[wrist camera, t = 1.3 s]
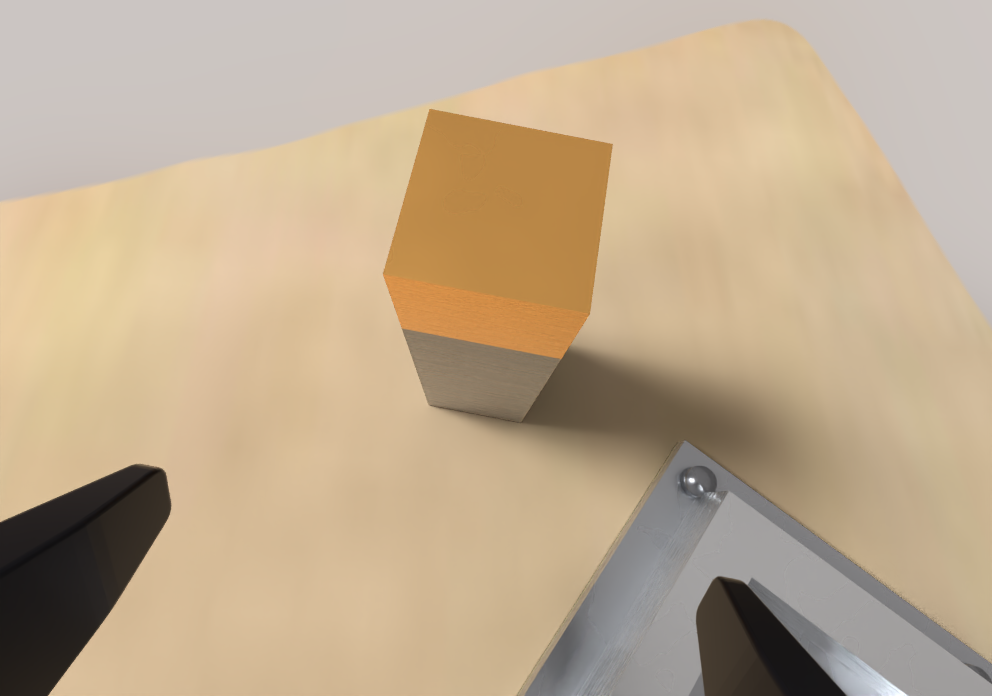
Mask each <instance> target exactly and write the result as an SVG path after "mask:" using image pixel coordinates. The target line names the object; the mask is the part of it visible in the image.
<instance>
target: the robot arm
mask: <svg viewBox="0 0 992 696" xmlns="http://www.w3.org/2000/svg"><path fill="white" fill-rule="evenodd" d="M170 511H171V499H170V493H169V488H168V482H167V476H166V473H165V471H164V470H163V469H162V468H159V467H154V466H149V465H144V464H134V465H131V466H128V467H126V468H124V469H122V470H119V471H117V472H115V473H112V474H110V475H108V476H105V477H103V478H101V479H98V480H96V481H94V482H92V483H89V484H87V485H85V486H82V487H80V488H78V489H75V490H73V491H71V492H68V493H66V494H64V495H62V496H59V497H57V498H55V499H52V500H50V501H48V502H45V503H43V504H41V505H38V506H36V507H34V508H32V509H29V510H27V511H25V512H22V513H20V514H18V515H15V516H13V517H11V518H8V519H6V520H4V521H2V522H0V696H48V695H49V693H50V692H51V691H52V689H53V688H54V687H55V685H56V684H57V683H58V681H59V680H60V679H61V677H62V676H63V675H64V673H65V672H66V671H67V669H68V668H69V667H70V665H71V664H72V663H73V661H74V660H75V659H76V657H77V656H78V655H79V653H80V652H81V651H82V649H83V648H84V647H85V645H86V644H87V643H88V641H89V640H90V639H91V637H92V636H93V635H94V633H95V632H96V631H97V629H98V628H99V627H100V625H101V624H102V623H103V621H104V620H105V618H106V617H107V616H108V614H109V613H110V611H111V610H112V608H113V607H114V605H115V604H116V602H117V601H118V599H119V598H120V596H121V595H122V593H123V591H124V590H125V588H126V586H127V585H128V583H129V582H130V580H131V578H132V577H133V575H134V573H135V572H136V570H137V568H138V567H139V565H140V564H141V562H142V560H143V559H144V557H145V555H146V554H147V552H148V551H149V549H150V547H151V546H152V544H153V542H154V541H155V539H156V538H157V536H158V534H159V533H160V531H161V529H162V528H163V526H164V525H165V523H166V521H167V519H168V517H169V515H170ZM696 628H697V636H698V645H699V653H700V661H701V669H702V678H703V686H704V694H705V696H847V695H846V694H845V693H844V692H843V690H842V689H841V688H840V687H839V686H838V685H837V684H836V683H835V682H834V680H833V679H832V678H831V677H830V676H829V675H828V674H827V673H826V672H825V671H824V669H823V668H822V667H821V666H820V665H819V664H818V663H817V662H816V661H815V659H814V658H813V657H812V656H811V655H810V654H809V653H808V652H807V651H806V649H805V648H804V647H803V646H802V645H801V644H800V643H799V642H798V641H797V639H796V638H795V637H794V636H793V635H792V634H791V633H790V632H789V631H788V629H787V628H786V627H785V626H784V625H783V624H782V623H781V622H780V621H779V619H778V618H777V617H776V616H775V615H774V614H773V613H772V612H771V611H770V610H769V608H768V607H767V606H766V605H765V604H764V603H763V602H762V601H761V600H760V598H759V597H758V596H757V595H756V594H755V593H754V592H753V591H752V590H751V588H750V587H749V586H748V585H747V584H746V583H744V582H743V581H741V580H738V579H733V578H728V577H723V576H717V577H716V578H714V579H713V580H712V582H711V584H710V586H709V587H708V589H707V591H706V593H705V595H704V597H703V598H702V600H701V602H700V604H699V606H698V608H697V612H696Z"/></svg>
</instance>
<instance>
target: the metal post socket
mask: <svg viewBox="0 0 992 696" xmlns="http://www.w3.org/2000/svg"><path fill="white" fill-rule="evenodd" d="M717 576H723V577H728V578H733V579H738V580H741V581H743V582H744V583H746V584H747V585H748V586H749V587H750V588H751V590H752V591H753V592H754V593H755V594H756V595H757V596H758V597H759V598H760V600H761V601H762V602H763V603H764V604H765V605H766V606H767V607H768V608H769V610H770V611H771V612H772V613H773V614H774V615H775V616H776V617H777V618H778V619H779V621H780V622H781V623H782V624H783V625H784V626H785V627H786V628H787V629H788V631H789V632H790V633H791V634H792V635H793V636H794V637H795V638H796V639H797V641H798V642H799V643H800V644H801V645H802V646H803V647H804V648H805V649H806V651H807V652H808V653H809V654H810V655H811V656H812V657H813V658H814V659H815V661H816V662H817V663H818V664H819V665H820V666H821V667H822V668H823V669H824V671H825V672H826V673H827V674H828V675H829V676H830V677H831V678H832V679H833V680H834V682H835V683H836V684H837V685H838V686H839V687H840V688H841V689H842V690H843V692H844V693H845V694H846V695H847V696H992V664H991V663H990V662H988V661H987V660H985V659H984V658H983V657H981V656H980V655H979V654H977V653H976V652H975V651H973V650H972V649H970V648H969V647H968V646H966V645H965V644H964V643H962V642H961V641H959V640H958V639H957V638H955V637H954V636H953V635H951V634H950V633H949V632H947V631H946V630H944V629H943V628H942V627H940V626H939V625H938V624H936V623H935V622H933V621H932V620H931V619H929V618H928V617H927V616H925V615H924V614H923V613H921V612H920V611H918V610H917V609H916V608H914V607H913V606H912V605H910V604H909V603H907V602H906V601H905V600H903V599H902V598H901V597H899V596H898V595H897V594H895V593H894V592H892V591H891V590H890V589H888V588H887V587H886V586H884V585H883V584H881V583H880V582H879V581H877V580H876V579H875V578H873V577H872V576H871V575H869V574H868V573H866V572H865V571H864V570H862V569H861V568H860V567H858V566H857V565H855V564H854V563H853V562H851V561H850V560H849V559H847V558H846V557H845V556H843V555H842V554H840V553H839V552H838V551H836V550H835V549H834V548H832V547H831V546H829V545H828V544H827V543H825V542H824V541H823V540H821V539H820V538H819V537H817V536H816V535H814V534H813V533H812V532H810V531H809V530H808V529H806V528H805V527H803V526H802V525H801V524H799V523H798V522H797V521H795V520H794V519H793V518H791V517H790V516H788V515H787V514H786V513H784V512H783V511H782V510H780V509H779V508H777V507H776V506H775V505H773V504H772V503H771V502H769V501H768V500H767V499H765V498H764V497H762V496H761V495H760V494H758V493H757V492H756V491H754V490H753V489H751V488H750V487H749V486H747V485H746V484H745V483H743V482H742V481H741V480H739V479H738V478H736V477H735V476H734V475H732V474H731V473H730V472H728V471H727V470H725V469H724V468H723V467H721V466H720V465H719V464H717V463H716V462H715V461H713V460H712V459H710V458H709V457H708V456H706V455H705V454H704V453H702V452H701V451H699V450H698V449H697V448H695V447H694V446H693V445H691V444H690V443H689V442H687V441H686V440H684V441H680V442H677V444H676V445H675V447H674V449H673V450H672V452H671V453H670V455H669V456H668V458H667V460H666V461H665V463H664V464H663V466H662V467H661V469H660V471H659V472H658V474H657V475H656V477H655V478H654V480H653V482H652V483H651V485H650V486H649V488H648V489H647V491H646V493H645V494H644V496H643V497H642V499H641V501H640V502H639V504H638V505H637V507H636V508H635V510H634V512H633V513H632V515H631V516H630V518H629V519H628V521H627V523H626V524H625V526H624V527H623V529H622V530H621V532H620V534H619V535H618V537H617V538H616V540H615V541H614V543H613V545H612V546H611V548H610V549H609V551H608V552H607V554H606V556H605V557H604V559H603V560H602V562H601V564H600V565H599V567H598V568H597V570H596V571H595V573H594V575H593V576H592V578H591V579H590V581H589V582H588V584H587V586H586V587H585V589H584V590H583V592H582V593H581V595H580V597H579V598H578V600H577V601H576V603H575V604H574V606H573V608H572V609H571V611H570V612H569V614H568V615H567V617H566V619H565V620H564V622H563V623H562V625H561V627H560V628H559V630H558V631H557V633H556V634H555V636H554V638H553V639H552V641H551V642H550V644H549V645H548V647H547V649H546V650H545V652H544V653H543V655H542V656H541V658H540V660H539V661H538V663H537V664H536V666H535V667H534V669H533V671H532V672H531V674H530V675H529V677H528V679H527V680H526V682H525V683H524V685H523V686H522V688H521V690H520V691H519V693H518V694H517V696H705V694H704V686H703V678H702V669H701V661H700V653H699V645H698V636H697V628H696V612H697V608H698V606H699V604H700V602H701V600H702V598H703V597H704V595H705V593H706V591H707V589H708V587H709V586H710V584H711V582H712V580H713V579H714V578H716V577H717Z"/></svg>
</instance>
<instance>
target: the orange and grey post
mask: <svg viewBox="0 0 992 696" xmlns="http://www.w3.org/2000/svg"><path fill="white" fill-rule="evenodd" d="M612 145H613V144H609V143H604V142H599V141H594V140H588V139H583V138H578V137H573V136H568V135H562V134H557V133H552V132H547V131H542V130H537V129H531V128H526V127H521V126H516V125H511V124H505V123H500V122H495V121H490V120H485V119H479V118H474V117H469V116H464V115H459V114H453V113H448V112H443V111H438V110H433V109H430V110H429V113H428V117H427V120H426V124H425V127H424V131H423V134H422V138H421V141H420V145H419V149H418V152H417V156H416V159H415V163H414V166H413V170H412V173H411V177H410V180H409V184H408V187H407V191H406V194H405V198H404V202H403V205H402V209H401V212H400V216H399V219H398V223H397V226H396V230H395V233H394V237H393V240H392V244H391V247H390V251H389V255H388V258H387V262H386V265H385V269H384V272H383V276H384V278H385V281H386V284H387V287H388V290H389V293H390V296H391V298H392V301H393V304H394V307H395V310H396V313H397V316H398V319H399V321H400V324H401V327H402V330H403V333H404V336H405V339H406V341H407V344H408V347H409V350H410V353H411V356H412V359H413V361H414V364H415V367H416V370H417V373H418V376H419V379H420V381H421V384H422V387H423V390H424V393H425V396H426V399H427V401H428V404H429V405H431V406H437V407H442V408H447V409H452V410H457V411H462V412H468V413H473V414H478V415H483V416H488V417H493V418H499V419H504V420H509V421H514V422H519V423H521V422H522V420H523V419H524V417H525V415H526V414H527V412H528V411H529V409H530V408H531V406H532V404H533V403H534V401H535V400H536V398H537V396H538V395H539V393H540V392H541V390H542V389H543V387H544V385H545V384H546V382H547V381H548V379H549V378H550V376H551V374H552V373H553V371H554V370H555V368H556V367H557V365H558V363H559V362H560V360H561V359H562V357H563V356H564V354H565V352H566V351H567V349H568V348H569V346H570V345H571V343H572V341H573V340H574V338H575V337H576V335H577V333H578V332H579V330H580V329H581V327H582V326H583V324H584V322H585V321H586V319H587V318H588V316H589V315H590V309H591V302H592V294H593V287H594V279H595V272H596V264H597V257H598V250H599V242H600V235H601V227H602V220H603V212H604V205H605V197H606V190H607V182H608V175H609V167H610V160H611V153H612Z"/></svg>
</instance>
